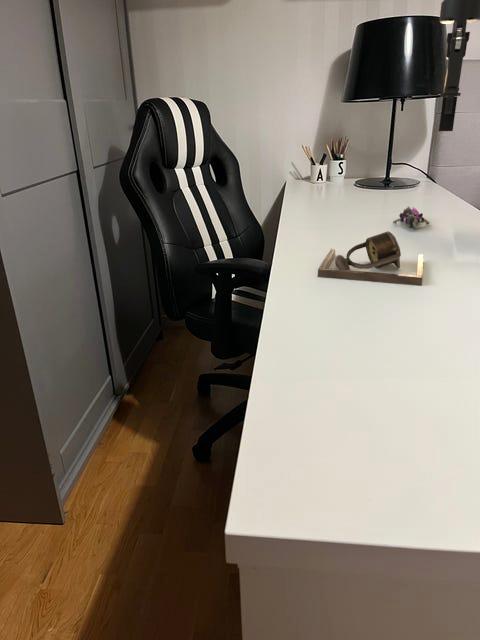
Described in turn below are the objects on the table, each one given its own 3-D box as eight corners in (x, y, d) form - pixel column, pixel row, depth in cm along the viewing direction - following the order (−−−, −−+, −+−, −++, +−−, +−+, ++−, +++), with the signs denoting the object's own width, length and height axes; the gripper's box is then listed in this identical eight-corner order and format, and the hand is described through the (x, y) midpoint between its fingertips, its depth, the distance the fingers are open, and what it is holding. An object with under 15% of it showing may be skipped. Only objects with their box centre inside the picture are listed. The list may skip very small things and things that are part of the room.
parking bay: (422, 261, 103) (423, 254, 102) (421, 285, 91) (422, 277, 90) (330, 255, 109) (330, 248, 108) (317, 276, 96) (317, 269, 96)
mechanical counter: (408, 250, 92) (405, 226, 100) (338, 242, 94) (340, 219, 102) (399, 283, 96) (397, 257, 104) (333, 274, 98) (335, 250, 106)
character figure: (391, 218, 140) (393, 230, 126) (392, 204, 139) (394, 214, 124) (426, 219, 138) (432, 231, 124) (428, 205, 137) (434, 216, 122)
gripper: (441, 4, 101) (426, 128, 111) (442, -7, 90) (426, 133, 100) (481, 1, 99) (463, 128, 108) (488, -10, 88) (467, 133, 97)
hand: (445, 130), depth 104 cm, fingers closed
